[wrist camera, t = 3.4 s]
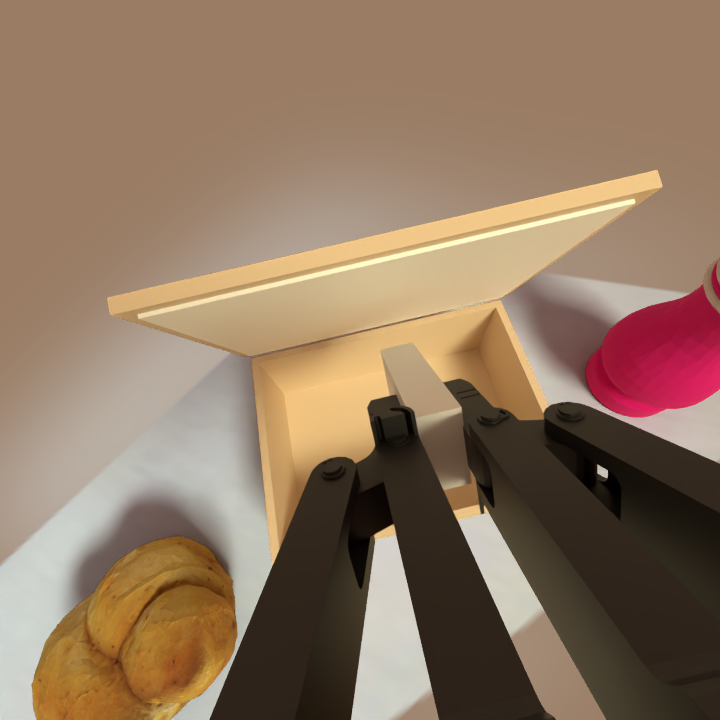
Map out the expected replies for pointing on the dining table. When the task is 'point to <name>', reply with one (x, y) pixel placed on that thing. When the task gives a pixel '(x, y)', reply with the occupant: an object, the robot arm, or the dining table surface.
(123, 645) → the bread roll
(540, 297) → the dining table surface
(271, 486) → the mailer box
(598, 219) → the lid
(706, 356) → the pepper mill
